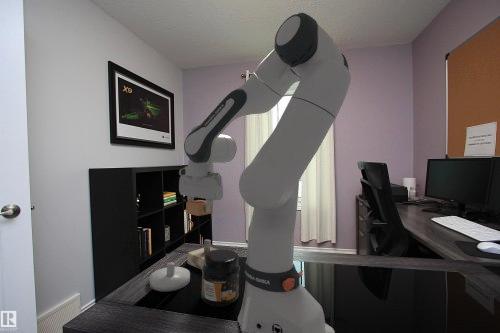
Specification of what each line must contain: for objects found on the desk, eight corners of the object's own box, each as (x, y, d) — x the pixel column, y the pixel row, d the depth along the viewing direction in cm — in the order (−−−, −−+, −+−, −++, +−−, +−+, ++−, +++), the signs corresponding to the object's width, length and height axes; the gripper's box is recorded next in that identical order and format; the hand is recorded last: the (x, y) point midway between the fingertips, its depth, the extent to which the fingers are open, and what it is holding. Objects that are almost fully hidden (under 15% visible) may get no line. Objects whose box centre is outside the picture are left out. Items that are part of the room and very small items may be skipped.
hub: (197, 280, 75) (198, 263, 75) (163, 296, 66) (164, 276, 66) (175, 269, 83) (175, 253, 83) (141, 282, 73) (142, 264, 73)
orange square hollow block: (212, 213, 85) (212, 202, 85) (198, 215, 80) (198, 204, 80) (200, 210, 89) (200, 200, 89) (186, 212, 84) (186, 201, 84)
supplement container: (202, 311, 60) (204, 264, 60) (199, 289, 70) (201, 249, 70) (242, 305, 63) (244, 260, 63) (234, 285, 73) (235, 247, 73)
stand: (225, 262, 90) (226, 240, 90) (205, 271, 82) (206, 247, 82) (207, 255, 96) (208, 235, 96) (187, 263, 88) (188, 240, 88)
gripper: (227, 172, 80) (226, 213, 80) (190, 170, 93) (189, 205, 93) (214, 172, 75) (212, 215, 75) (176, 170, 88) (175, 207, 88)
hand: (199, 210), depth 84 cm, fingers closed on orange square hollow block, 7 cm apart
